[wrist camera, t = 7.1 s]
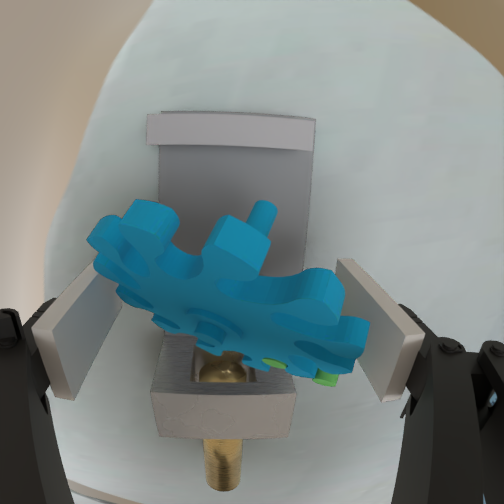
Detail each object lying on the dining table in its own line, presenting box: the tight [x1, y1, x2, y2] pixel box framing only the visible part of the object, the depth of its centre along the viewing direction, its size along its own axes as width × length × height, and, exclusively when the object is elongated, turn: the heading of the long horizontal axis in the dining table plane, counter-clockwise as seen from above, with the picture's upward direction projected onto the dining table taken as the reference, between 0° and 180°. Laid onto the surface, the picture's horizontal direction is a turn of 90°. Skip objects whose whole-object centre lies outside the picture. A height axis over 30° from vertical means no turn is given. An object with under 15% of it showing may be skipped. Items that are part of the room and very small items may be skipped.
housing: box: [146, 111, 316, 336], centre depth 20 cm, size 24×9×4 cm, turn 177°
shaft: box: [199, 360, 247, 491], centre depth 21 cm, size 13×3×3 cm, turn 177°
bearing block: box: [150, 335, 297, 439], centre depth 20 cm, size 4×8×6 cm, turn 86°
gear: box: [87, 199, 370, 387], centre depth 12 cm, size 11×6×10 cm
